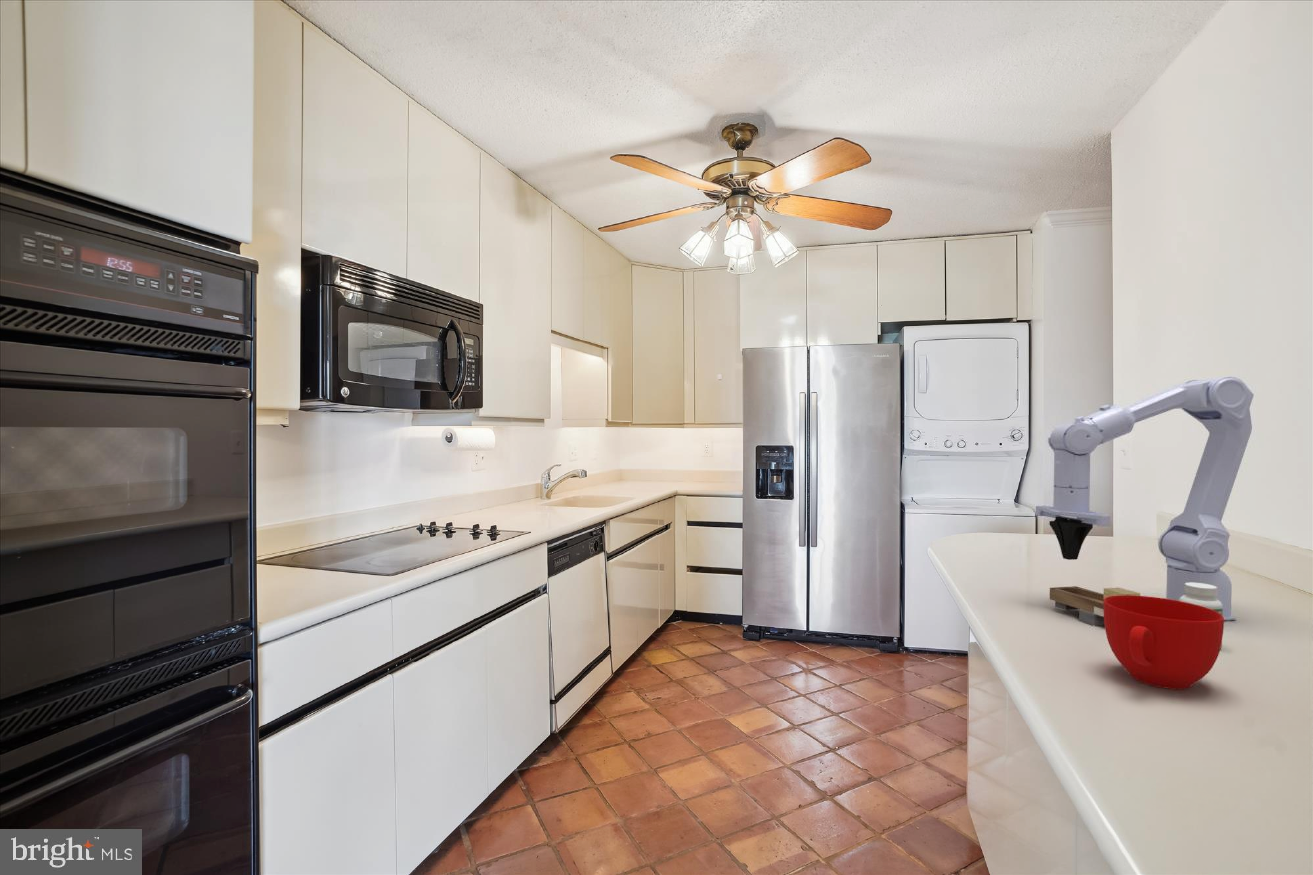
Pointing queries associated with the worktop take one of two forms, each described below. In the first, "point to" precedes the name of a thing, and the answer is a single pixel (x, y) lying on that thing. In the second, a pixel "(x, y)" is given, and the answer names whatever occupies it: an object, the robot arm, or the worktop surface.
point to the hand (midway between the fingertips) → (1070, 558)
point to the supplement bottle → (1202, 596)
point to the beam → (1080, 603)
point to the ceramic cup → (1163, 639)
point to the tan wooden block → (1118, 592)
